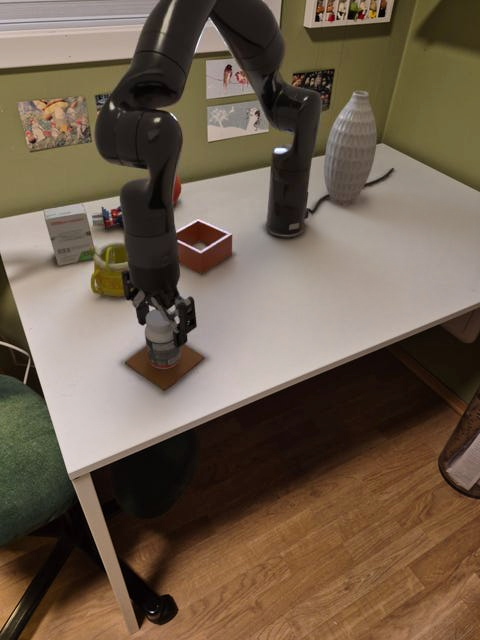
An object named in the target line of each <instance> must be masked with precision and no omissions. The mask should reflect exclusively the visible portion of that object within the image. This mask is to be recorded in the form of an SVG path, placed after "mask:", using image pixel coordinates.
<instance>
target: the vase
mask: <svg viewBox="0 0 480 640" xmlns="http://www.w3.org/2000/svg"><path fill="white" fill-rule="evenodd" d="M377 141H378V131H377V122H376V117H375V114H374V112H373V108H372V106H371V103H370V94H369V92H367V91H365V90H355V91H353V92H352V95H351V98H350V99H349V101H347V103H346V104H345V106H344V107H343V108H342V110H341V111H340V112H339V113H338V115H337V117H336V118H335V120H334V122H333V125H332V127H331V129H330V130H329V135H328V138H327V142H326V148H325V153H324V163H323V178H324V185H325V187H326V192H327V195H328V194H329V196H330V197H329V198H330V200H331V202H333V204H337V205H350V204H352V203H353V201H355V199H356V198H357V197H358V196H359V195H360V193H361V192H362V191H363V189H364V185H365V184H366V183H367V181H368V180H369V176H370V174H371V172H372V168H373V164H374V162H375V161H374V160H375V156H376V155H375V154H376V150H377V144H378V143H377Z"/></svg>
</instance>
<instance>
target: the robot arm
mask: <svg viewBox="0 0 480 640" xmlns="http://www.w3.org/2000/svg"><path fill="white" fill-rule="evenodd" d="M275 16H276V15H275V14H274V12H273V11H272V9H271V8H270V6H269V5H268V3H266V2H265V1H264V0H159V1H158V2H157V3H156V5H155V6H154V7H153V9H152V10H151V12H150V13H149V14H148V17H147V18H146V20H145V22H144V24H143V27H142V29H141V31H140V34H139V37H138V39H137V42H136V46H135V50H134V52H133V56H132V59H131V61H130V65H129V67H128V69H127V70H126V71H125V73H124V75H123V76H122V77H121V78H120V80H119V81H118V83H117V84H116V86H115V87H114V88H113V90H112V91H111V92H110V94H109V95H108V96H107V98H106V99H105V101H104V103H103V104H102V106H101V107H100V110H99V112H98V113H97V116H96V118H95V119H96V120H95V123H94V132H93V137H94V145H95V147H96V150H97V153H98V154H99V155H100V157H101V158H102V159H103V160H104V161H106V162H107V163H109V164H112V165H116V166H121V167H127V168H134V169H141V170H146V171H148V174H149V176H148V177H147V176H146V177H140V178H135V179H132V180H129V181H127V182H126V183H124V184H122V186H121V187H120V190H119V206H121V211H122V218H123V224H124V228H123V242H125V249H126V255H127V261H128V268H127V269H126V270H124V271H122V272H121V275H122V282H123V290H124V296H123V297H124V299H125V300H126V301H127V302H129V301H131V305H132V306H133V308H135V314H136V318H137V323H138V325H140V326H141V327H143V326H144V325H145V326H146V315H147V314H148V313H149V312H150V311H151V310H150V308H151V307H152V308H154V309H157V310H158V311H159V312H160V314H161V315H162V317H163V319H164V320H165V321H168V322H169V324H170V325H171V327H172V329H173V341H174V346H175V347H177V348H179V347H181V346H182V345H184V344H185V345H186V343H187V342H188V340H189V339H188V334H189V333H190V332H192V331H193V330H194V329H196V328H197V327H198V323H197V312H196V303H195V299H194V297H193V296H192V295H189V296H188V297H186V298H185V297H183V296H181V294H180V292H179V290H178V283H179V280H180V278H181V266H180V264H181V263H179V251H178V238H177V233H176V231H177V229H176V223H175V222H176V221H175V208H174V204H173V192H174V184H175V178H176V174H177V173H178V167H179V163H180V159H181V155H182V152H183V145H184V134H183V130H182V127H181V125H180V122H179V121H178V119H177V118H176V117H175V115H174V114H173V113H172V112H169V111H167V110H165V109H162V108H168V107H172V106H174V105H177V104H178V102H180V100H181V99H182V97H183V94H184V92H185V89H186V85H187V83H188V82H187V81H188V78H189V75H190V72H191V69H192V65H193V62H194V57H195V54H196V51H197V48H198V45H199V43H200V40H201V38H202V34H203V32H204V29H205V27H206V25H207V23H208V20H210V22H211V23H212V25H213V26H214V28H215V29H216V31H217V33H218V34H219V35H220V37H221V39H222V40H223V43H224V44H225V46H226V48H227V49H228V52H229V53H230V54H231V56H232V58H233V60H234V61H235V62H236V65H237V66H238V67H239V69H240V70H241V72H242V73H243V74H244V76H245V78H246V80H247V82H248V83H249V85H250V87H251V88H252V90H253V92H254V94H255V95H256V97H257V100H258V103H259V104H260V107H261V109H262V111H263V114H264V116H265V118H266V121H267V122H268V123H269V125H270V126H271V127H272V128H273V129H275V130H277V131H279V132H283V133H287V134H290V135H293V139H292V142H291V143H283V144H280V145H277V146H275V147H274V148H273V149H272V152H271V158H270V171H269V172H270V174H269V187H268V198H267V199H268V200H267V201H268V202H267V213H266V223H265V230H266V231H267V233H269V234H270V235H271V236H273V237H276V238H280V239H281V238H282V239H291V238H296V237H299V236H300V235H301V234H302V233H303V231H304V227H305V222H306V220H307V219H308V218H309V214H313V213H315V212H316V211H317V209H318V208H319V205H320V204H321V202H322V201H323V200H325V199H327V198H330V196H329V194H328V193H327V194H326V195H323V196H322V197H320V198H319V199H318V200H317V202H316V204H315V205H314V207H313V209H311V208H309V207H308V200H309V186H310V185H309V184H310V176H311V168H312V162H313V157H314V154H315V151H316V146H317V141H318V135H319V129H320V125H321V124H320V123H321V119H322V113H323V99H322V95H321V94H320V93H319V92H318V91H316V90H314V89H309V88H304V87H300V86H296V85H291V84H290V83H288V82H287V81H286V80H285V79H284V77H283V76H282V74H281V68H282V65H283V64H284V60H285V56H286V41H285V37H284V35H283V32H282V30H281V28H280V25H279V23H278V20H277V19H276V17H275ZM394 170H395V168H394V167H391V169H390V170H389V171H388V172H386V173H385V174H384V175H383V176H381V177H379V178H376V179H374V180H371V181H369V182H366V183H365V185H364V187H367V186H371V185H373V184H376V183H378V182H380V181H382V180H384V179H386V178H387V177H388V176H389V175H391V173H392V172H393V171H394ZM364 187H363V188H364ZM131 288H133V290H132V291H130V290H131ZM172 307H174V310H173V311H172V312H171V313H170V314H168V312H167V310H170V309H171V308H172ZM176 317H177V318H178V321H179V322H178V323H177V321H176V319H175V318H176Z"/></svg>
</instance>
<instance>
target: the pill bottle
mask: <svg viewBox="0 0 480 640" xmlns="http://www.w3.org/2000/svg"><path fill="white" fill-rule="evenodd" d="M167 312H168V314H170V313H171V312H173V311H172V310H170V309H168V310H167ZM144 338H145V339H144V340H145V345H146V346H147V352H148V358H149V362H150V363H151V365H152V366H154V367H156V368H158V369H169V368H172V367H174V366H175V365H177V364H178V362H179V361H180V358H181V350H180V347H179V348H177V347H175V346H174V341H173V329H172V327H171V325H170V324H169V322H168V321H165V320H164V319H163V317H162V315H161V314H160V312H159V311H158V310H157V309H155V308H154V309H151V310H150V312H149V313H148V314H147V315H146V324H145V328H144Z"/></svg>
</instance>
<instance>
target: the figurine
mask: <svg viewBox="0 0 480 640" xmlns="http://www.w3.org/2000/svg"><path fill="white" fill-rule="evenodd" d="M91 219H92V221H91V222H92V225H93V226H96V225H97V226H98V225H104V230H108V228H109V227H112V226H115V225H118V224H119V227H121V228H122V229H124V224H123V218H122V211H121V206H120V205H119V206H118V207H116V208H111V209H109V208H105V207H104V206H101V212H93V213H91Z"/></svg>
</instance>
